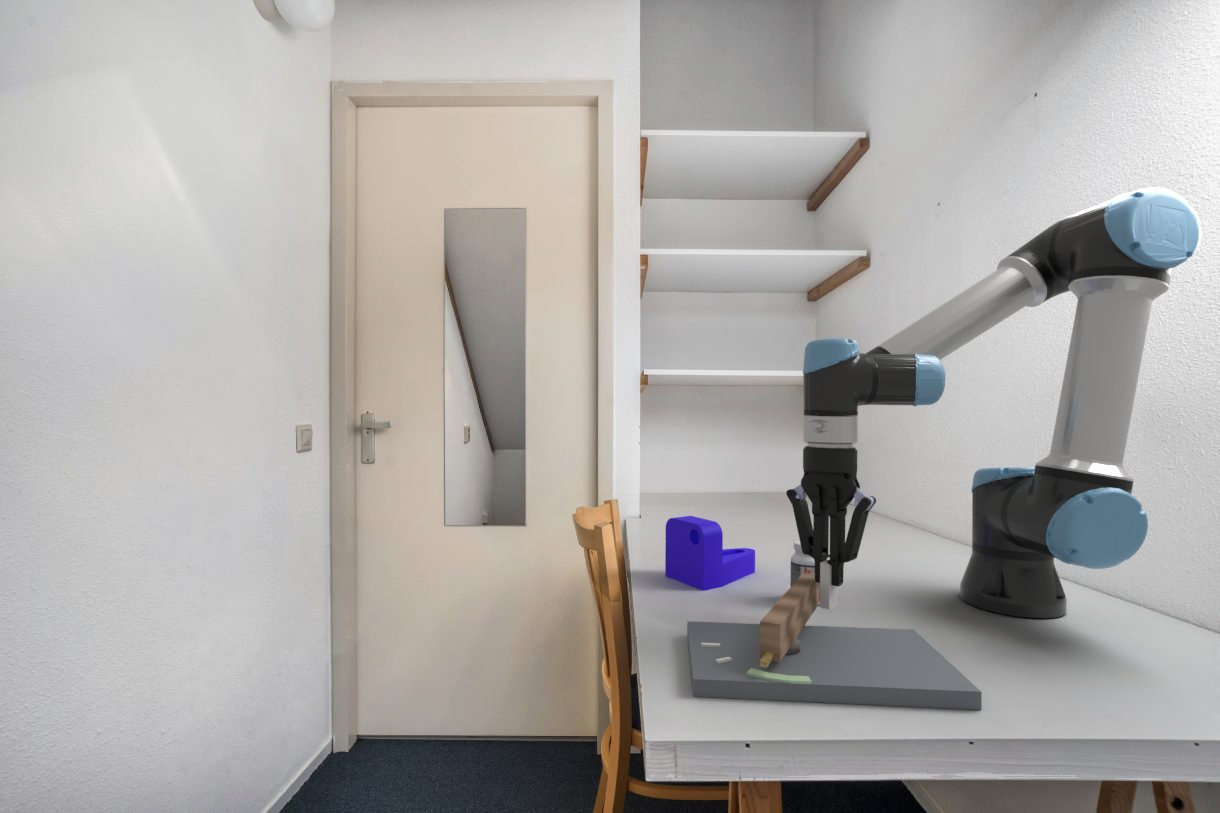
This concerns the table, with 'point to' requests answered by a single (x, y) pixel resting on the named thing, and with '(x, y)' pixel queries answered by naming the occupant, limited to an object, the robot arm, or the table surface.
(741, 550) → the bracket
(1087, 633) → the table surface
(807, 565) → the pill bottle
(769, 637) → the brown wooden bar
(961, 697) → the plate
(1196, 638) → the table surface
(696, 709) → the table surface
